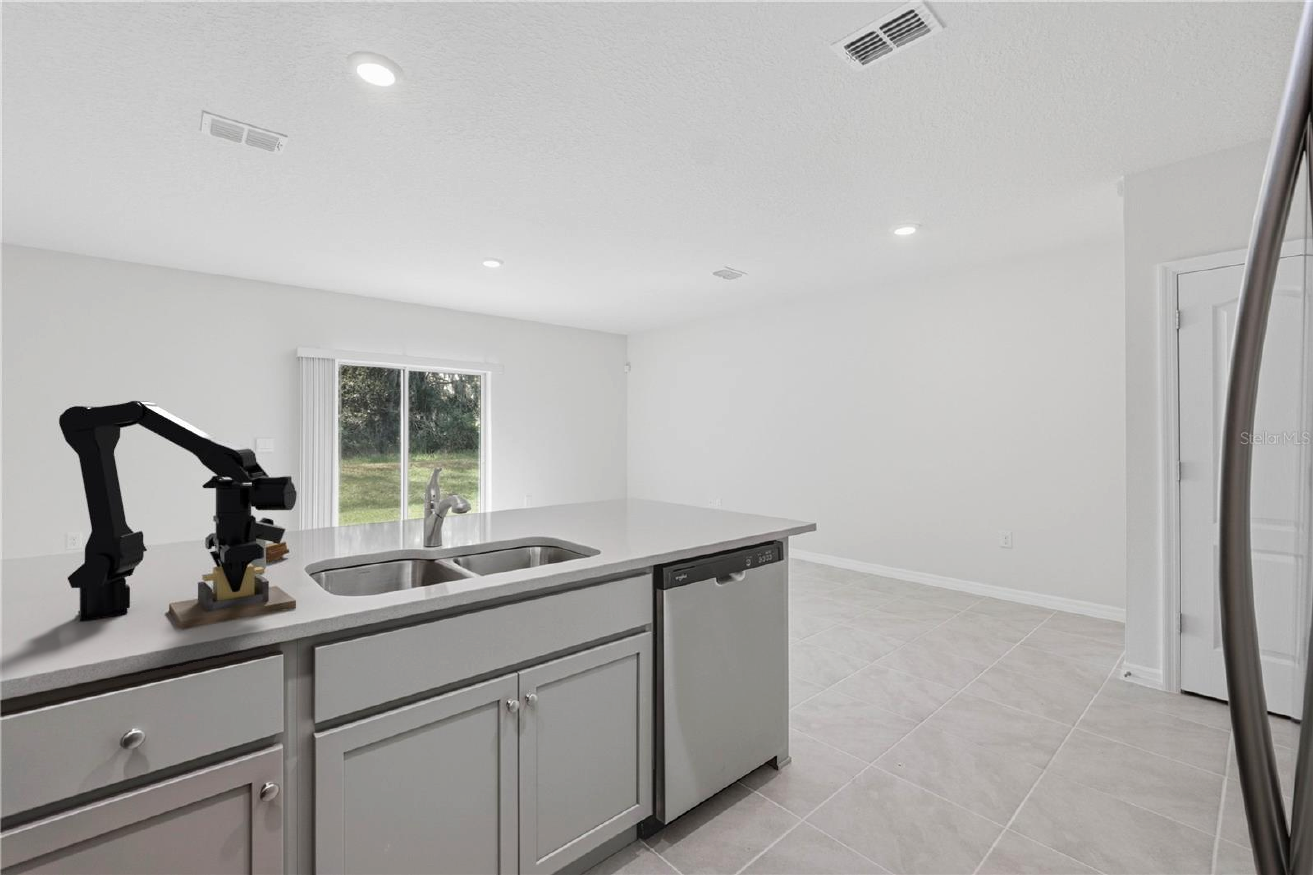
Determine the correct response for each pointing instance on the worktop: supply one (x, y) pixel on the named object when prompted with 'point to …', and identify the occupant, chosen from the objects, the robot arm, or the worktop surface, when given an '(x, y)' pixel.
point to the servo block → (222, 586)
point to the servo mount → (230, 605)
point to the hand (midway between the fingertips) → (233, 589)
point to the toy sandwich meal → (275, 551)
